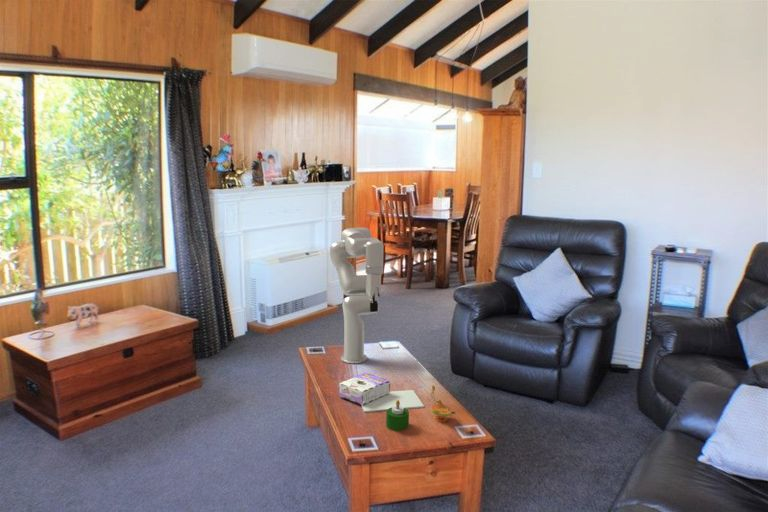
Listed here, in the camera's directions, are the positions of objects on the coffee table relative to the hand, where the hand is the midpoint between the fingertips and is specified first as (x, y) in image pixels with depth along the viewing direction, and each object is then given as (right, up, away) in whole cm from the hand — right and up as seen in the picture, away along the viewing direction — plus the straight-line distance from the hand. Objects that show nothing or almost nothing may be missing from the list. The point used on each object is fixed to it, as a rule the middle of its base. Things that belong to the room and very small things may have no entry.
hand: (373, 311), depth 253 cm
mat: (+7, -35, -17) cm, 39 cm away
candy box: (+2, -30, -7) cm, 30 cm away
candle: (+9, -39, -38) cm, 55 cm away
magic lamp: (+26, -38, -33) cm, 57 cm away
